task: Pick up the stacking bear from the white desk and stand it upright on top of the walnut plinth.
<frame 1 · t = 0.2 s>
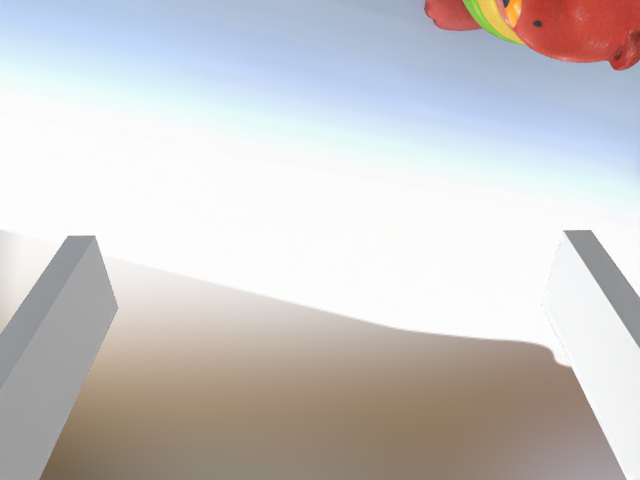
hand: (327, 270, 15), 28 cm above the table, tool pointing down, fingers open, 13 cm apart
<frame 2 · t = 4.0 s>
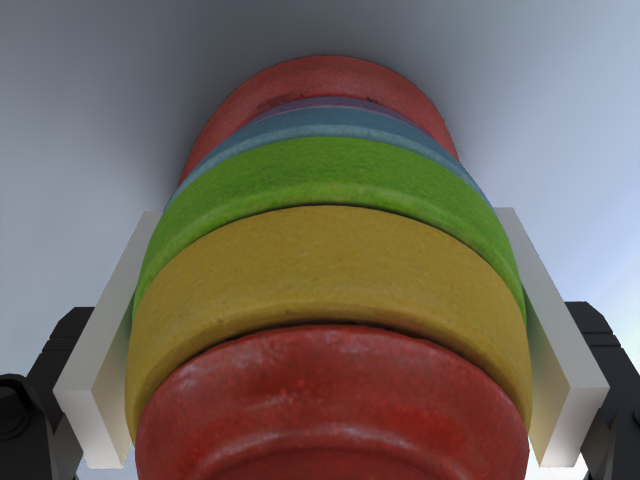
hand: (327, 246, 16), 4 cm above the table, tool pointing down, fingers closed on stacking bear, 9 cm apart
stacking bear: (325, 185, 19), on the table, touching gripper
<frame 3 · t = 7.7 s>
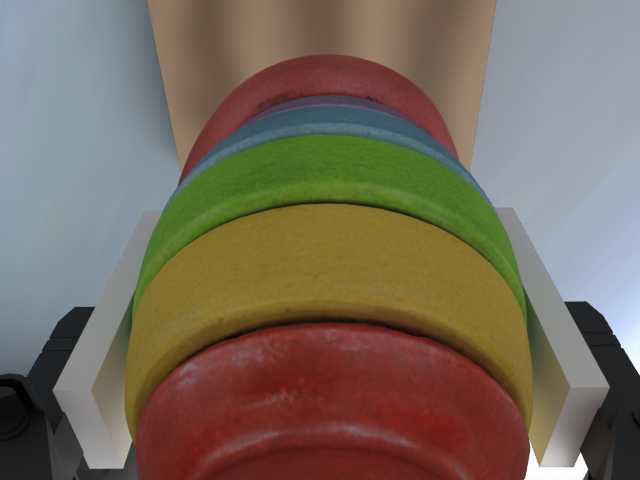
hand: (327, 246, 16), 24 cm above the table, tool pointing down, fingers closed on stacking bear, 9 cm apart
stacking bear: (325, 184, 19), point 20 cm above the table, touching gripper
walnut plinth: (322, 35, 35), on the table
when the fingers open (9 cm above the table, at t = 11.4 s): stacking bear drops 1 cm, resting on walnut plinth.
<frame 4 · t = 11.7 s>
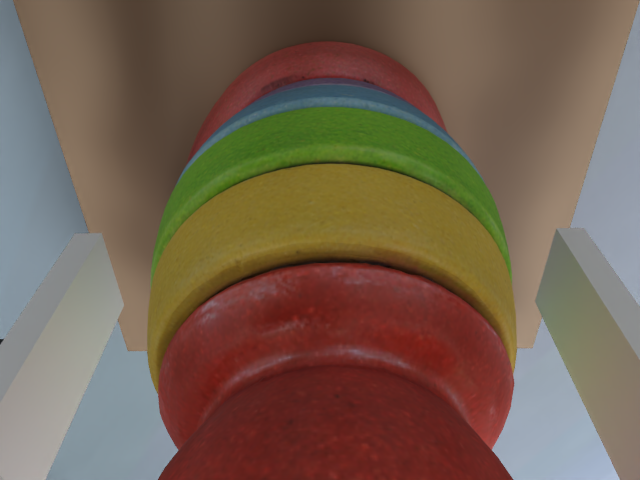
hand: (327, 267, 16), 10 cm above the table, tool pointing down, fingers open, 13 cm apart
stacking bear: (324, 167, 21), point 4 cm above the table, touching walnut plinth
walnut plinth: (326, 127, 24), on the table
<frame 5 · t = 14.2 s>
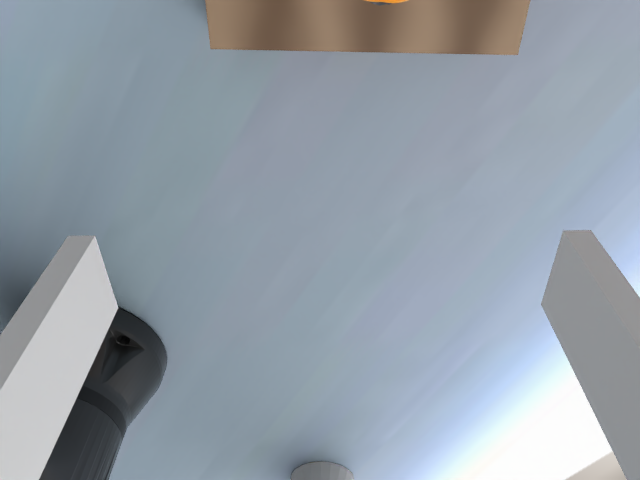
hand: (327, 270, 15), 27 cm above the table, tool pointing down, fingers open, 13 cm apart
lava lamp: (322, 477, 73), on the table
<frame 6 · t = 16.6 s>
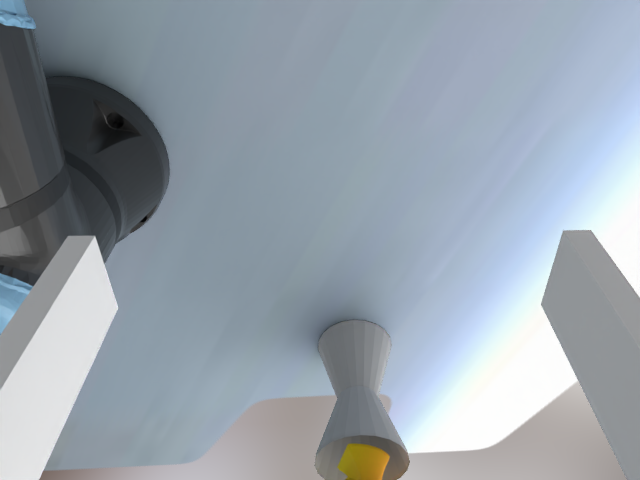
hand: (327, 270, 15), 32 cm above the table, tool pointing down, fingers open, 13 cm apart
lava lamp: (354, 345, 63), on the table
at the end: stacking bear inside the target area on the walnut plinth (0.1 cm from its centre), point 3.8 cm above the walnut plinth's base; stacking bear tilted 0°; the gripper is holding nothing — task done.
